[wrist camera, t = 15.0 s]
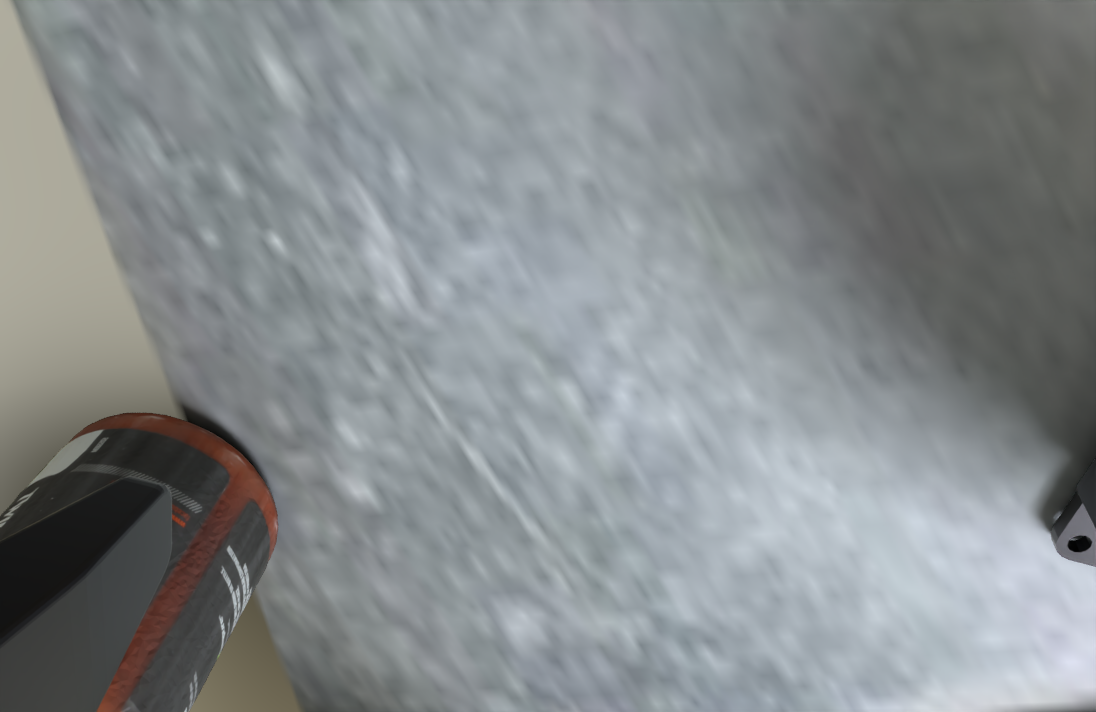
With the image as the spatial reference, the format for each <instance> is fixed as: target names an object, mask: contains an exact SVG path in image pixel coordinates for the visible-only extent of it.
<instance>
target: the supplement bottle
mask: <svg viewBox="0 0 1096 712" xmlns="http://www.w3.org/2000/svg"><path fill="white" fill-rule="evenodd" d="M127 476H134V477H138V478H142V479H146V480H149V481H153V482H157V483H161V484H164V485H166V486H167V487H168V488H169V489H170V491H171V495H172V550H171V556H170V559H169V563H168V566H167V568H166V571H165V573H164V575H163V577H162V579H161V581H160V583H159V585H158V587H157V590H156V592H155V594H154V596H153V598H152V600H151V602H150V604H149V606H148V608H147V610H146V612H145V614H144V616H143V618H142V620H141V622H140V624H139V626H138V629H137V631H136V633H135V635H134V637H133V639H132V641H131V643H130V645H129V647H128V649H127V651H126V653H125V655H124V657H123V659H122V661H121V663H120V665H119V668H118V670H117V672H116V674H115V676H114V678H113V680H112V682H111V684H110V686H109V688H108V690H107V692H106V694H105V696H104V698H103V700H102V702H101V704H100V706H99V708H98V710H97V712H189V711H190V709H191V707H192V706H193V703H194V702H195V700H196V698H197V696H198V694H199V693H200V691H201V689H202V687H203V685H204V683H205V682H206V680H207V678H208V676H209V673H210V671H211V670H212V668H213V666H214V664H215V662H216V660H217V659H218V657H219V655H220V653H221V651H222V649H223V647H224V645H225V643H226V642H227V640H228V638H229V636H230V634H231V632H232V631H233V629H234V627H235V625H236V623H237V621H238V619H239V617H240V615H241V614H242V612H243V610H244V608H245V606H246V604H247V602H248V600H249V599H250V597H251V595H252V593H253V591H254V589H255V587H256V585H257V584H258V582H259V580H260V578H261V576H262V574H263V573H264V571H265V569H266V566H267V563H268V561H269V559H270V557H271V554H272V552H273V550H274V547H275V544H276V540H277V532H278V522H277V516H278V515H277V510H276V507H275V502H274V500H273V498H272V495H271V493H270V491H269V489H268V487H267V486H266V484H265V482H264V480H263V479H262V478H261V477H260V475H259V474H258V472H257V471H256V469H255V468H254V467H253V465H252V464H251V463H250V462H249V461H248V460H247V459H246V458H245V457H244V456H243V455H242V454H241V453H240V452H239V451H237V450H236V449H235V448H234V447H233V446H232V445H230V444H228V443H227V442H225V441H224V440H223V439H222V438H220V437H218V436H216V435H215V434H213V433H211V432H209V431H208V430H205V429H203V428H201V427H199V426H197V425H194V424H192V423H189V422H187V421H184V420H181V419H177V418H174V417H171V416H167V415H160V414H153V413H123V414H120V415H114V416H110V417H107V418H104V419H101V420H99V421H97V422H95V423H92V424H90V425H88V426H87V427H85V428H84V429H83V430H82V431H80V432H79V433H78V434H76V435H75V436H74V437H73V438H72V440H71V441H70V442H69V443H68V444H67V445H66V446H64V447H63V448H62V449H61V450H60V451H59V452H58V453H57V454H56V455H55V456H54V457H53V458H52V459H51V461H50V462H49V463H48V464H47V465H46V466H45V467H44V468H43V469H42V470H41V471H40V473H39V474H38V475H37V476H36V478H35V479H34V480H33V481H32V482H31V483H30V484H29V485H28V486H27V487H26V488H25V489H24V490H23V491H22V492H21V493H20V494H19V495H18V497H17V498H16V499H15V501H14V502H13V503H12V504H11V505H10V506H9V507H8V508H7V509H6V511H5V512H4V513H3V514H2V515H1V516H0V540H2V539H4V538H6V537H8V536H10V535H12V534H14V533H16V532H18V531H20V530H22V529H24V528H25V527H27V526H29V525H31V524H33V523H35V522H37V521H39V520H41V519H43V518H45V517H47V516H48V515H50V514H52V513H54V512H56V511H58V510H60V509H62V508H64V507H66V506H68V505H70V504H72V503H73V502H75V501H77V500H79V499H81V498H83V497H85V496H87V495H89V494H91V493H93V492H95V491H96V490H98V489H100V488H102V487H104V486H106V485H108V484H110V483H112V482H114V481H116V480H118V479H120V478H123V477H127Z"/></svg>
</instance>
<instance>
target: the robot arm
mask: <svg viewBox="0 0 1096 712" xmlns="http://www.w3.org/2000/svg"><path fill="white" fill-rule="evenodd" d="M1076 489H1077V492H1076V493H1075V495H1074V496H1073V498H1072V499H1071V501H1070V502H1069V504H1068V505H1067V507H1066V508H1065V510H1064V511H1063V512H1062V514H1061V515H1060V517H1059V518H1058V520H1057V521H1056V523H1055V524H1054V526H1053V528H1052V530H1051V539H1052V541H1053V544H1054V546H1055V548H1056V550H1057V552H1058V553H1059V554H1060V555H1061V556H1062V557H1064V558H1066V559H1068V560H1072V561H1076V562H1080V563H1084V564H1088V565H1091V566H1095V567H1096V458H1095V460H1094V461H1093V462H1092V464H1091V465H1090V467H1089V468H1088V470H1087V471H1086V473H1085V474H1084V476H1083V477H1082V479H1081V480H1080V482H1079V483H1078V485H1077V488H1076ZM1079 535H1081V536H1083V537H1082V538H1081V539H1078V540H1070V539H1072V538H1073V537H1076V536H1079ZM171 550H172V495H171V491H170V489H169V488H168V487H167V486H166V485H164V484H161V483H157V482H153V481H149V480H146V479H142V478H138V477H134V476H127V477H123V478H120V479H118V480H116V481H114V482H112V483H110V484H108V485H106V486H104V487H102V488H100V489H98V490H96V491H95V492H93V493H91V494H89V495H87V496H85V497H83V498H81V499H79V500H77V501H75V502H73V503H72V504H70V505H68V506H66V507H64V508H62V509H60V510H58V511H56V512H54V513H52V514H50V515H48V516H47V517H45V518H43V519H41V520H39V521H37V522H35V523H33V524H31V525H29V526H27V527H25V528H24V529H22V530H20V531H18V532H16V533H14V534H12V535H10V536H8V537H6V538H4V539H2V540H0V712H97V710H98V708H99V706H100V704H101V702H102V700H103V698H104V696H105V694H106V692H107V690H108V688H109V686H110V684H111V682H112V680H113V678H114V676H115V674H116V672H117V670H118V668H119V665H120V663H121V661H122V659H123V657H124V655H125V653H126V651H127V649H128V647H129V645H130V643H131V641H132V639H133V637H134V635H135V633H136V631H137V629H138V626H139V624H140V622H141V620H142V618H143V616H144V614H145V612H146V610H147V608H148V606H149V604H150V602H151V600H152V598H153V596H154V594H155V592H156V590H157V587H158V585H159V583H160V581H161V579H162V577H163V575H164V573H165V571H166V568H167V566H168V563H169V559H170V556H171Z"/></svg>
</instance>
